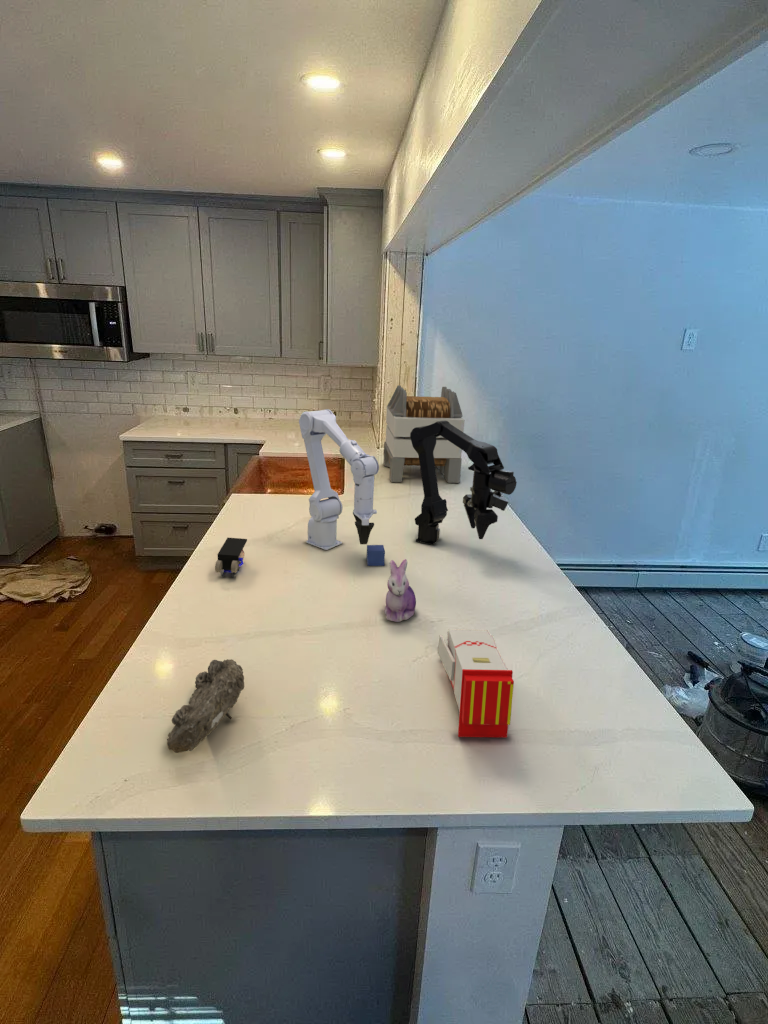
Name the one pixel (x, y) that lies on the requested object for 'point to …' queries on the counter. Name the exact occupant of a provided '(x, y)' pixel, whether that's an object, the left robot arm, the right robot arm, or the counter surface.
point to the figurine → (399, 594)
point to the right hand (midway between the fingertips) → (476, 533)
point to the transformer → (418, 413)
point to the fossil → (206, 705)
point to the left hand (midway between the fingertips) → (362, 538)
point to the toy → (478, 682)
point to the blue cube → (375, 555)
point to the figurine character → (230, 556)
